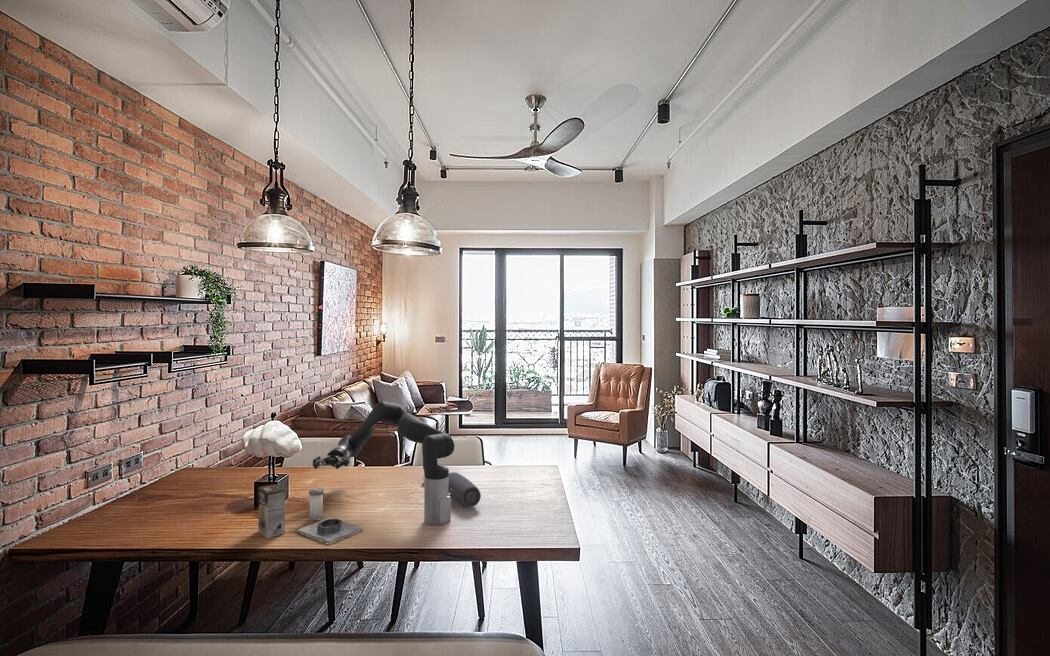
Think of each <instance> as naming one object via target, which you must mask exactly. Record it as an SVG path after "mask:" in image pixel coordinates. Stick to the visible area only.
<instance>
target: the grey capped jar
mask: <svg viewBox="0 0 1050 656" xmlns="http://www.w3.org/2000/svg"><path fill="white" fill-rule="evenodd" d="M324 493H325V490H324V488H321V487H317V488H316V487H315V488H311V489H309V490H308V495H309V521H311V520H319V519H321V520H323V519H322V518H324V516H323V515H324V514H323V513H324V510H323V508H324V507H323V506H324V505H323V503H324V502H323V501H324V499H323V497H324V495H323V494H324ZM319 521H320V520H319Z"/></svg>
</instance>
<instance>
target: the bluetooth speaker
mask: <svg viewBox="0 0 1050 656" xmlns="http://www.w3.org/2000/svg"><path fill="white" fill-rule="evenodd" d="M449 495H451V496H452V497H453V498H454V499H455V501H456V502H457V503H458V504H460V505H461V504H462V505H461V506H465V507H467V508H472V507H475V506H477V505H478V504H479V502H480V500H481V498H482V497H481V496H482V495H481V491H480V489H479V488H478V487H477V486H476V485H475V484H474V483H473V482H472V481H470V480H469V479H468V478H467V477H465V476H464V475H462V474H460V473H458V472H454V471H453V472H449Z"/></svg>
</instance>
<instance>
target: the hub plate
mask: <svg viewBox="0 0 1050 656" xmlns="http://www.w3.org/2000/svg"><path fill="white" fill-rule="evenodd" d="M359 531H361V532H363V527H362V526H359V525H355V524H352V523H349V522H346V521H344V520H342V519H339V518H334V517H332V516H331V517H328V518H325V519H321V520H319V521H316V522H315V523H312V524H308V525H305V526H303V527H300V528H299V529H297V531H296V532H299V533H302V534H304V535H307V536H310V537H312V538H315V539H318V540H321V541H323V542H326V543H328V544H330V543H332V542H334V541H337V540H340V539H342V538H344V539H346V538H345V537H347V538H349V537H351V536H350V535H352V534H354V535H356V534H358V533H357V532H359ZM299 533H298V534H299ZM355 533H356V534H355ZM359 533H360V532H359ZM302 534H301V535H302ZM304 535H303V536H304ZM307 536H306V537H307ZM348 536H349V537H348ZM352 536H353V535H352ZM310 537H309V538H310ZM312 538H311V539H312ZM315 539H314V540H315ZM318 540H317V541H318ZM342 540H343V539H342ZM340 541H341V540H340ZM323 542H322V543H323ZM337 542H338V541H337ZM326 543H325V544H326ZM328 544H327V545H328ZM330 545H331V544H330Z"/></svg>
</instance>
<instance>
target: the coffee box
mask: <svg viewBox="0 0 1050 656" xmlns="http://www.w3.org/2000/svg"><path fill="white" fill-rule="evenodd" d="M257 489H258V491H257V492H258V495H257V496H258V498H257V499H258V501H257V502H258V506H257V507H258V508H257V509H258V515H257V516H258V517H257V519H258V532H259V533H260V534H261V535H262V534H263V537H265V538H266V539H270V538H269V537H271V538H273V537H272V536H275V537H277V536H276V535H278V536H280V535H279V534H282V535H284V534H286V533H285V525H286V524H285V523H286V521H285V520H286V519H285V517H286V516H285V515H286V506H285V505H286V501H285V500H286V497H285V496H286V490H285V489H284V488H283V487H281V486H279V485H278V484H277V483H275V484H270V485H269V484H268V485H262V486H259V487H257ZM283 533H284V534H283Z"/></svg>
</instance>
